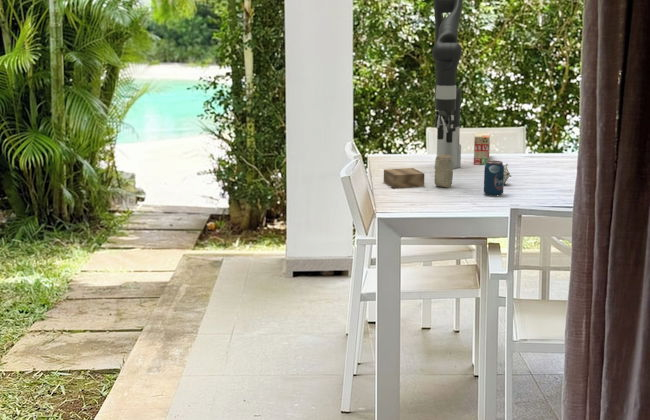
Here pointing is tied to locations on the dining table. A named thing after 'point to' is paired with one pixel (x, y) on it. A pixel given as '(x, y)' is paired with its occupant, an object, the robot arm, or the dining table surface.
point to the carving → (443, 170)
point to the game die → (506, 174)
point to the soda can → (493, 178)
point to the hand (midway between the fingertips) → (444, 140)
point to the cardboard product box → (481, 148)
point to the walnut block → (403, 178)
